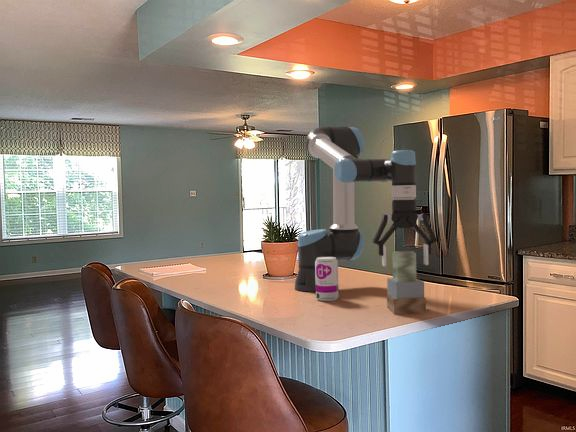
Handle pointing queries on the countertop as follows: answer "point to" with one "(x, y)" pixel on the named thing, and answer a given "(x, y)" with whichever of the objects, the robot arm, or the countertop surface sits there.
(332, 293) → the supplement can
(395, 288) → the block
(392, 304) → the tower base
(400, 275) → the pillar block
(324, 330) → the countertop surface
